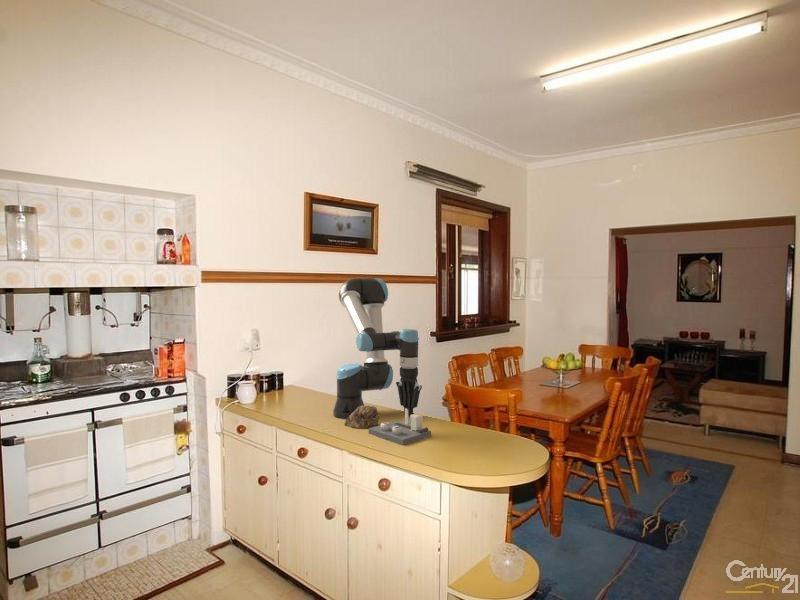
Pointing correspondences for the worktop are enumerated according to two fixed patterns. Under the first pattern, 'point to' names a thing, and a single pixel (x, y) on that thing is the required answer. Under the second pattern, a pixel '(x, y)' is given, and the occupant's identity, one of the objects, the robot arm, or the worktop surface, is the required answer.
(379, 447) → the worktop surface
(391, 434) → the console
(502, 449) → the worktop surface
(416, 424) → the fader tab
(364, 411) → the rock
